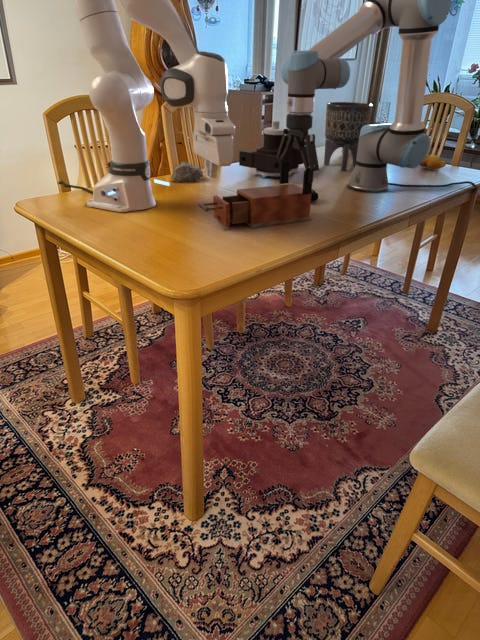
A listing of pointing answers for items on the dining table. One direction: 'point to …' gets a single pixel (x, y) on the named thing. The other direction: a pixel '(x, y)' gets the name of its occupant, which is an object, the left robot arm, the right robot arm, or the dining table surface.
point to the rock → (186, 173)
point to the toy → (433, 162)
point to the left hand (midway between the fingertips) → (211, 176)
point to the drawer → (229, 209)
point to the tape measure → (314, 195)
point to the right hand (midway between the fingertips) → (294, 188)
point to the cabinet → (276, 204)
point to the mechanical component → (270, 154)
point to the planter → (345, 128)
